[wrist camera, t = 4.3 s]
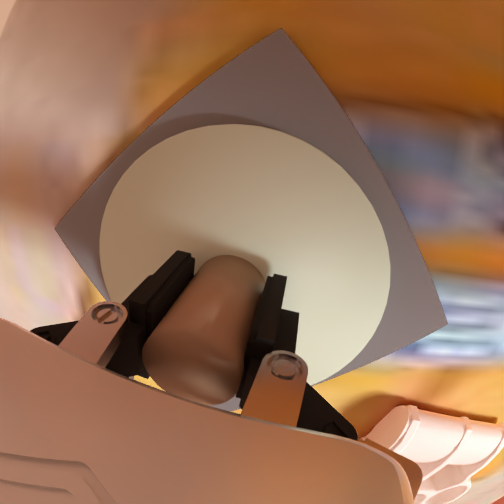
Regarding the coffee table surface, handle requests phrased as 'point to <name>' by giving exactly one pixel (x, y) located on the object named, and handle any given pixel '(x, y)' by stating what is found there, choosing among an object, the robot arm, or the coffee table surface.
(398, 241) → the mat
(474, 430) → the knuckle duster
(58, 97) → the coffee table surface
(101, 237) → the lid
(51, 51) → the coffee table surface
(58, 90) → the coffee table surface
